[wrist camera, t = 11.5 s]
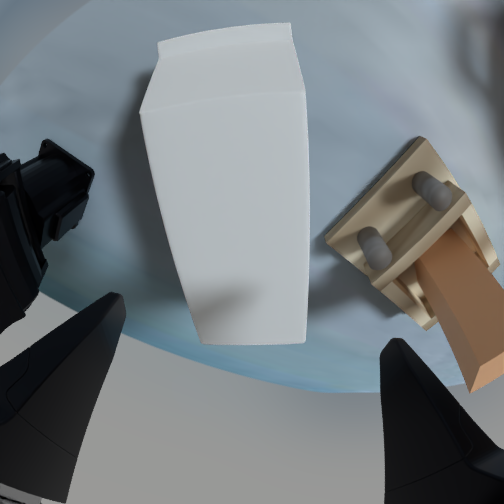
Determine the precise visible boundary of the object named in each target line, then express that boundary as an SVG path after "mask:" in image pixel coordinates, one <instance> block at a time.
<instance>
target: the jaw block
mask: <svg viewBox="0 0 504 504" xmlns="http://www.w3.org/2000/svg"><path fill="white" fill-rule="evenodd" d="M414 264H415V270H416V276H417V282H418V284H419V286H420V288H421V289H422V291H423V293H424V295H425V297H426V298H427V300H428V302H429V304H430V306H431V308H432V310H433V312H434V313H435V315H436V317H437V319H438V321H439V323H440V325H441V327H442V329H443V331H444V334H445V336H446V338H447V340H448V342H449V344H450V346H451V349H452V351H453V353H454V355H455V358H456V360H457V362H458V365H459V367H460V370H461V372H462V375H463V377H464V380H465V382H466V385H467V388H468V390H469V393H472V392H474V391H476V390H477V389H479V388H481V387H483V386H484V385H486V384H487V383H489V382H491V381H493V380H494V379H496V378H497V377H499V376H501V375H502V374H504V290H503V288H502V287H501V286H500V284H499V283H498V282H497V280H496V279H495V278H494V277H493V275H492V274H491V273H490V271H489V270H488V269H487V268H486V267H485V265H484V264H483V263H482V262H481V261H480V259H479V258H478V257H477V256H476V255H475V253H474V252H473V251H472V250H471V249H470V248H469V247H468V246H467V244H466V243H465V242H464V241H463V240H462V239H461V238H460V237H459V236H458V235H457V234H456V233H455V232H454V230H453V229H452V228H450V229H448V230H447V231H446V232H445V233H444V234H443V235H442V236H441V237H440V238H439V239H438V240H437V241H436V242H435V243H434V244H433V245H431V246H430V247H429V248H428V249H427V250H426V251H425V252H424V253H423V254H422V255H421V256H420V257H419V258H418V259H417V260H416V261H415V262H414Z"/></svg>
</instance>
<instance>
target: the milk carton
mask: <svg viewBox="0 0 504 504" xmlns="http://www.w3.org/2000/svg"><path fill="white" fill-rule="evenodd" d="M157 46H158V55H159V60H158V63H157V65H156V67H155V70H154V72H153V75H152V78H151V80H150V83H149V85H148V88H147V91H146V94H145V96H144V99H143V102H142V105H141V108H140V111H139V114H140V119H141V125H142V130H143V135H144V141H145V146H146V151H147V156H148V160H149V165H150V170H151V174H152V179H153V183H154V187H155V192H156V196H157V200H158V204H159V208H160V212H161V216H162V220H163V224H164V227H165V231H166V235H167V238H168V242H169V245H170V249H171V252H172V256H173V259H174V263H175V266H176V269H177V273H178V276H179V279H180V282H181V286H182V289H183V292H184V295H185V298H186V301H187V304H188V307H189V310H190V313H191V316H192V319H193V322H194V325H195V327H196V330H197V333H198V336H199V339H200V341H201V343H202V344H209V345H274V344H297V343H304V342H305V339H306V325H307V307H308V285H309V249H310V182H309V148H308V126H307V108H306V94H305V91H306V90H305V86H304V82H303V78H302V74H301V70H300V66H299V62H298V58H297V54H296V50H295V47H294V43H293V39H292V31H291V24H290V23H269V24H255V25H244V26H236V27H228V28H221V29H215V30H209V31H203V32H198V33H193V34H189V35H184V36H180V37H176V38H172V39H168V40H164V41H160V42H158V43H157Z"/></svg>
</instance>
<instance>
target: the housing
mask: <svg viewBox="0 0 504 504" xmlns="http://www.w3.org/2000/svg"><path fill="white" fill-rule="evenodd" d="M450 228H452V229H453V230H454V232H455V233H456V234H457V235H458V236H459V237H460V238H461V239H462V240H463V241H464V242H465V243H466V244H467V246H468V247H469V248H470V249H471V250H472V251H473V252H474V253H475V255H476V256H477V257H478V258H479V259H480V261H481V262H482V263H483V264H484V265H485V267H486V268H487V269H488V270H489V271H490V273H491V274H492V272H493V271H494V270H495V269H496V268H497V267H498V266H499V265H500V263H499V260H498V258H497V255H496V253H495V250H494V248H493V246H492V243H491V241H490V239H489V237H488V235H487V233H486V230H485V228H484V226H483V224H482V222H481V220H480V218H479V216H478V214H477V212H476V211H475V209H474V207H473V205H472V203H471V201H470V200H469V198H468V196H467V194H466V193H465V192H464V191H463V190H461V189H460V187H459V185H458V184H457V182H456V181H455V179H454V177H453V176H452V174H451V173H450V171H449V170H448V168H447V167H446V165H445V164H444V162H443V161H442V159H441V158H440V157H439V155H438V154H437V152H436V151H435V150H434V148H433V147H432V145H431V144H430V143H429V141H428V140H427V139H426V138H423V137H421V136H419V138H418V139H417V140H416V141H415V142H414V143H413V144H412V145H411V146H410V148H409V149H408V150H407V151H406V152H405V153H404V154H403V155H402V156H401V157H400V158H399V160H398V161H397V162H396V163H395V164H394V165H393V166H392V167H391V168H390V169H389V170H388V171H387V172H386V173H385V174H384V176H383V177H382V178H381V179H380V180H379V181H378V182H377V183H376V184H375V185H374V186H373V187H372V188H371V189H370V190H369V191H368V192H367V193H366V194H365V195H364V196H363V197H362V199H361V200H360V201H359V202H358V203H357V204H356V205H355V206H354V207H353V208H352V209H351V210H350V211H349V212H348V213H347V214H346V215H345V216H344V217H343V218H342V219H341V220H340V221H339V222H338V223H337V224H336V225H335V226H334V227H333V228H332V229H331V230H330V231H329V232H328V233H327V234H326V235H325V236H324V238H325V241H326V243H327V244H328V245H329V246H331V247H332V248H333V249H334V250H336V251H337V252H338V253H339V254H341V255H342V256H343V257H344V258H346V259H347V260H348V261H349V262H351V263H352V264H353V265H354V266H356V267H357V268H358V269H359V270H360V271H362V272H363V273H364V274H365V275H366V276H368V277H369V279H370V282H371V284H372V285H373V286H374V287H375V288H377V289H378V290H379V291H380V292H381V293H383V294H384V295H385V296H386V297H387V298H389V299H390V300H391V301H392V302H393V303H395V304H396V305H397V306H398V307H399V308H400V309H402V310H403V311H404V312H405V313H406V314H407V315H409V316H410V317H411V318H412V319H413V320H414V321H415V322H417V323H418V324H419V325H420V326H421V327H422V328H423V329H424V330H426V331H427V330H428V329H430V328H431V327H432V326H433V325H435V324H436V323H437V322H438V319H437V317H436V315H435V313H434V312H433V310H432V308H431V306H430V304H429V302H428V300H427V298H426V297H425V295H424V293H423V291H422V289H421V288H420V286H419V284H418V282H417V276H416V270H415V264H414V262H415V261H416V260H417V259H418V258H419V257H420V256H421V255H422V254H423V253H424V252H425V251H426V250H427V249H428V248H429V247H430V246H431V245H433V244H434V243H435V242H436V241H437V240H438V239H439V238H440V237H441V236H442V235H443V234H444V233H445V232H446V231H447V230H448V229H450Z"/></svg>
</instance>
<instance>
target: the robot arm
mask: <svg viewBox="0 0 504 504" xmlns="http://www.w3.org/2000/svg"><path fill="white" fill-rule="evenodd" d="M46 144H47V146H46ZM87 173H89V174H90V176H88V174H87ZM94 175H95V173H94V170H93V169H92V168H90V167H89V166H87V165H86V164H84V163H83V162H81V161H80V160H79V159H77V158H76V157H74V156H73V155H71V154H70V153H68V152H67V151H65V150H64V149H63V148H61V147H60V146H58V145H57V144H55V143H54V142H52V141H51V140H50V139H45V140H43V141H42V143H41V147H40V151H39V155H38V156H37V157H35V158H33V159H31V160H29V161H27V162H26V163H24V164H22V165H21V164H20V159H17V160H13V161H12V160H10V158H8V157H7V156H6V154H5V153H1V154H0V334H1V333H2V332H3V331H4V330H5V329H6V328H7V327H8V326H10V325H11V324H12V323H14V322H16V321H18V320H20V319H22V318H24V317H25V316H26V314H25V311H26V310H27V309H28V308H29V307H30V305H31V304H32V302H33V301H34V300H35V298H36V297H37V295H38V293H39V289H38V288H39V286H40V283H41V281H42V279H43V276H44V274H45V272H46V270H47V267H48V263H47V260H46V259H45V258H44V255H43V252H42V248H43V247H44V246H45V245H47V244H48V243H49V242H50V241H51V240H53V241H58V240H59V239H60V238H61V237H62V236H63V235H64V234H65V233H66V232H67V231H69V230H70V229H74V228H76V227H77V225H78V222H79V220H81V219H82V216H83V213H84V210H85V207H86V204H87V201H88V199H89V195H88V192H89V189H90V186H91V184H92V181H93V178H94ZM125 318H126V309H125V304H124V299H123V296H122V295H121V294H119V293H115V292H109V293H108V294H106V295H104V296H103V297H101V298H100V299H98V300H97V301H95V302H94V303H92V304H91V305H89V306H88V307H86V308H85V309H83V310H82V311H80V312H79V313H77V314H76V315H74V316H73V317H71V318H70V319H68V320H67V321H66V322H64V323H63V324H61V325H60V326H58V327H57V328H55V329H54V330H52V331H51V332H50V333H48V334H47V335H45V336H44V337H43V338H41V339H40V340H39V341H37V342H35V343H34V344H33V345H32V346H31V347H30V348H27V349H26V350H24V351H23V352H22V353H20V354H19V355H17V356H16V357H14V358H13V359H11V360H10V361H8V362H7V363H5V364H4V365H2V366H1V367H0V504H41V498H45V499H49V500H52V501H57V502H61V503H66V500H67V496H68V492H69V488H70V484H71V480H72V476H73V473H74V469H75V465H76V462H77V458H78V455H79V451H80V448H81V445H82V442H83V438H84V435H85V432H86V429H87V426H88V423H89V420H90V418H91V414H92V412H93V409H94V406H95V404H96V401H97V398H98V395H99V393H100V390H101V388H102V385H103V382H104V380H105V377H106V375H107V372H108V370H109V367H110V365H111V363H112V360H113V357H114V354H115V351H116V347H117V344H118V341H119V337H120V334H121V331H122V328H123V325H124V321H125ZM380 394H381V405H382V418H383V432H384V451H385V498H384V504H504V450H503V449H501V448H499V447H498V446H497V445H496V444H495V443H494V442H493V441H492V440H491V439H490V438H489V437H488V436H487V435H486V434H485V433H484V431H483V430H482V429H481V428H480V427H479V426H478V425H477V424H476V423H475V422H474V421H473V419H472V418H471V417H470V416H469V415H468V414H467V412H466V411H465V410H464V409H463V407H462V406H461V405H460V404H459V403H458V401H457V400H456V399H455V398H454V396H453V395H452V394H451V393H450V392H449V391H448V389H447V388H446V387H445V386H444V385H443V383H442V382H441V381H440V380H439V379H438V378H437V376H436V375H435V374H434V373H433V372H432V371H431V370H430V368H429V367H428V366H427V365H426V364H425V363H424V362H423V360H422V359H421V358H420V357H419V356H418V355H417V354H416V353H415V352H414V350H413V349H412V348H411V347H410V346H409V345H408V344H407V343H406V342H405V340H403V339H402V338H392V339H391V340H390V341H389V342H388V344H387V345H386V346H385V348H384V349H383V350H382V352H381V354H380Z"/></svg>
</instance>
